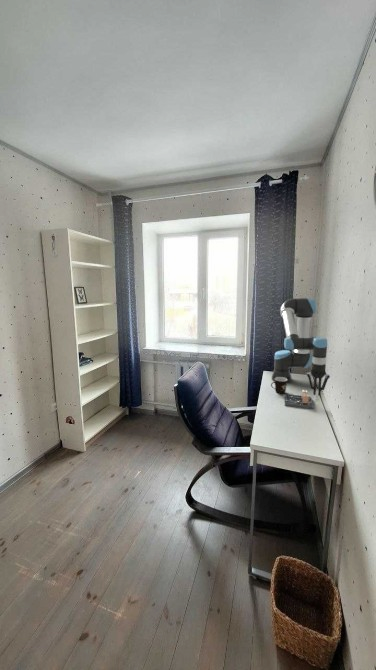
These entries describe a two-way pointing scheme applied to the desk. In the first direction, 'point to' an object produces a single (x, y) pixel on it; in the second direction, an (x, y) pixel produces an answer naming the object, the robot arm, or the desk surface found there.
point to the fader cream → (304, 392)
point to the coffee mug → (280, 385)
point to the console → (297, 401)
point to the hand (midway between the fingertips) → (316, 399)
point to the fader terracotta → (305, 398)
